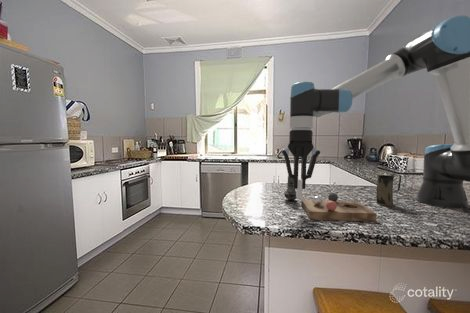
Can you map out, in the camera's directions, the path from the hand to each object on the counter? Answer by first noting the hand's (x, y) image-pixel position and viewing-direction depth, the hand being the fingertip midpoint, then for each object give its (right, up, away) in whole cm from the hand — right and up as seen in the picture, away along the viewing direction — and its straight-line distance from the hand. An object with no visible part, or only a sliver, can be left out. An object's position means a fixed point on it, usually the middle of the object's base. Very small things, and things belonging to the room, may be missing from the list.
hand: (298, 197), depth 78 cm
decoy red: (+9, -1, -6) cm, 11 cm away
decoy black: (+14, -1, +4) cm, 14 cm away
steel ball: (+6, -1, -1) cm, 6 cm away
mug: (+37, -4, +10) cm, 39 cm away
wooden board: (+12, -5, -1) cm, 13 cm away
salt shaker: (+1, -4, +13) cm, 14 cm away
